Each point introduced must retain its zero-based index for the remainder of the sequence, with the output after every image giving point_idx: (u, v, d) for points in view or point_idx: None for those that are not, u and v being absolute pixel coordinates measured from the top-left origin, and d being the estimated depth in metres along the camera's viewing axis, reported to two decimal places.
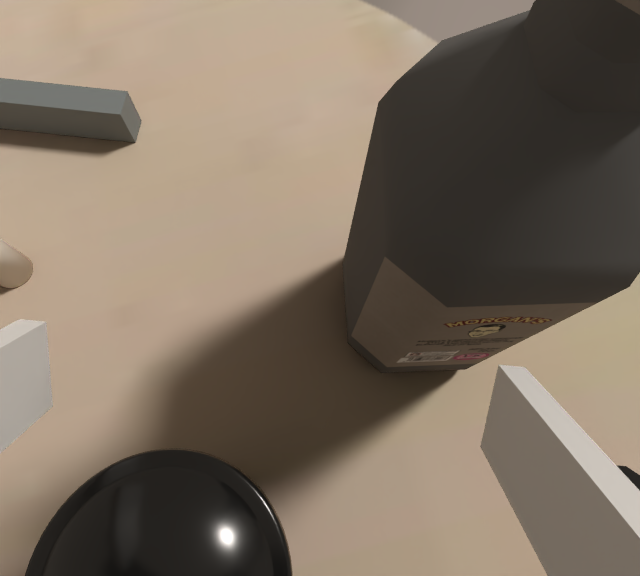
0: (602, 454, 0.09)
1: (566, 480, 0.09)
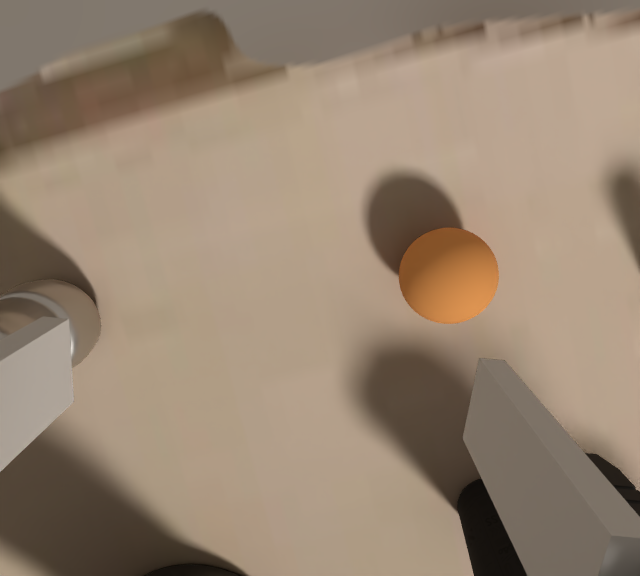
0: (571, 441, 0.10)
1: (536, 466, 0.09)
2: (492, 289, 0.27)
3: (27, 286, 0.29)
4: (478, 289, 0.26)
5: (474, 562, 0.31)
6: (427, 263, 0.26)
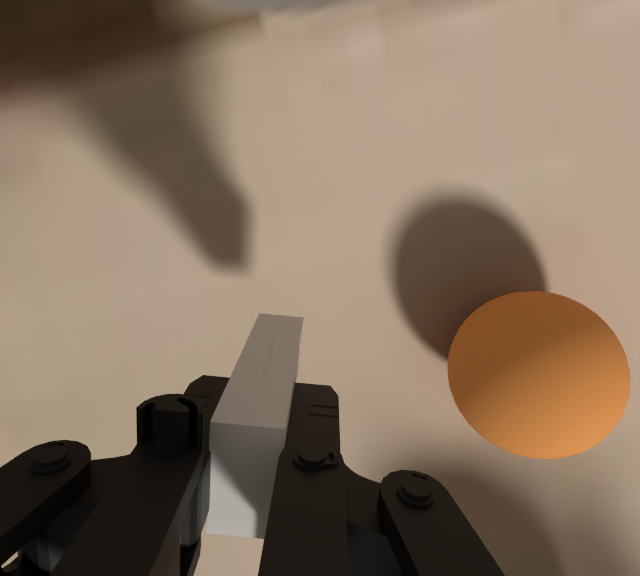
0: (295, 371, 0.12)
1: None
2: (623, 409, 0.15)
3: None
4: (605, 414, 0.14)
5: None
6: (510, 364, 0.15)
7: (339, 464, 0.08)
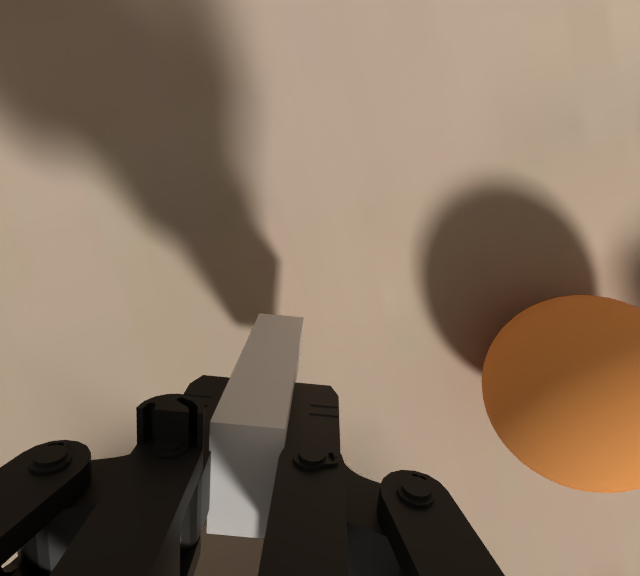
0: (295, 371, 0.12)
1: None
2: (484, 374, 0.15)
3: None
4: None
5: None
6: None
7: (339, 464, 0.08)
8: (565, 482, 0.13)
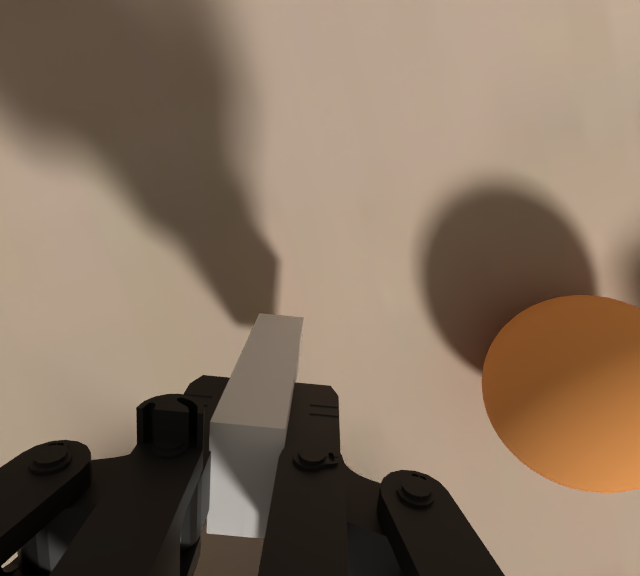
0: (295, 371, 0.12)
1: None
2: (484, 374, 0.15)
3: None
4: None
5: None
6: None
7: (339, 464, 0.08)
8: (565, 482, 0.13)
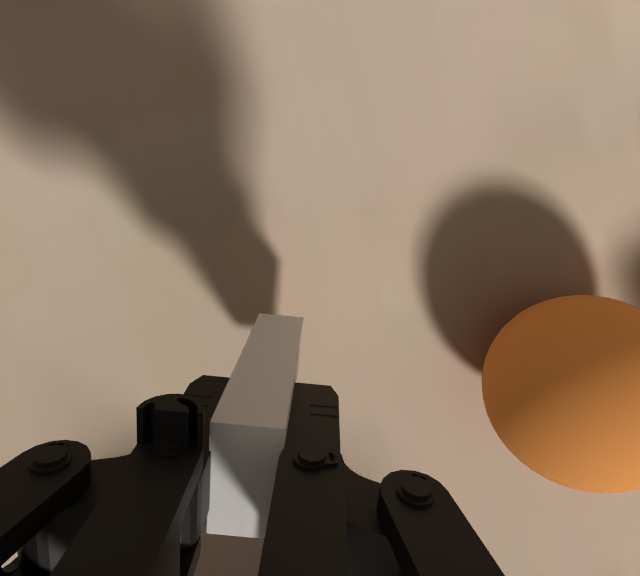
0: (295, 371, 0.12)
1: None
2: (484, 374, 0.15)
3: None
4: None
5: None
6: None
7: (339, 464, 0.08)
8: (565, 482, 0.13)
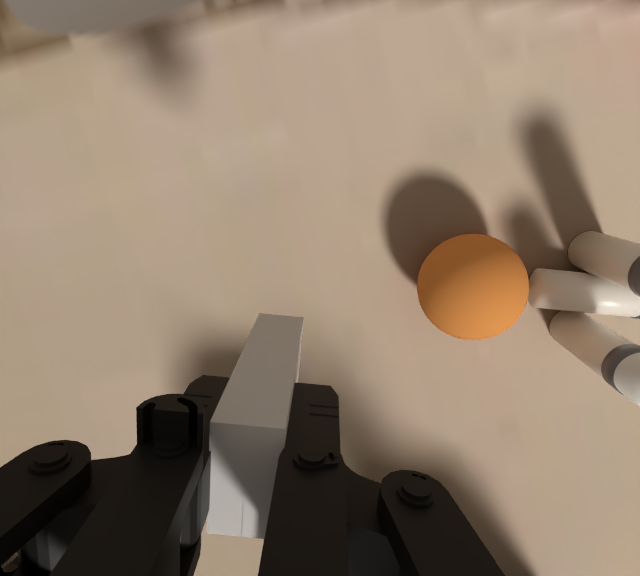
0: (295, 371, 0.12)
1: None
2: None
3: None
4: None
5: None
6: None
7: (339, 464, 0.08)
8: (456, 331, 0.25)
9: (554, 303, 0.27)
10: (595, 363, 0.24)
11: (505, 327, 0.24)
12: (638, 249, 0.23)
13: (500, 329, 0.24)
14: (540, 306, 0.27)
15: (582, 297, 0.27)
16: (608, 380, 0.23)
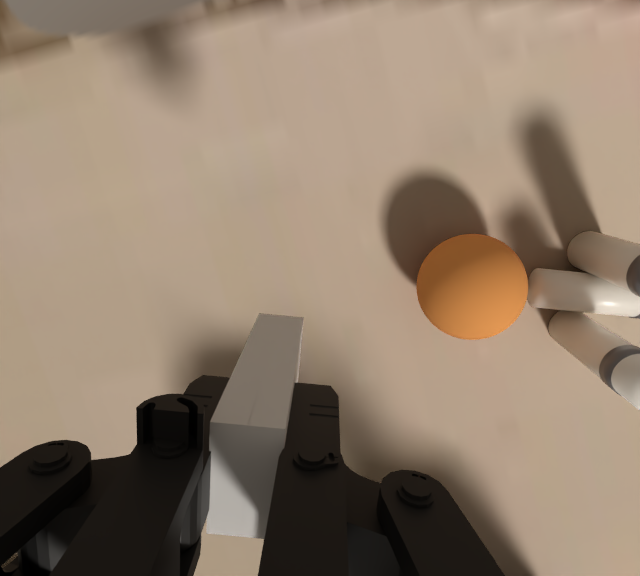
0: (294, 371, 0.12)
1: None
2: (417, 280, 0.26)
3: None
4: None
5: None
6: None
7: (339, 464, 0.08)
8: (455, 330, 0.25)
9: (553, 303, 0.27)
10: (593, 364, 0.25)
11: (504, 327, 0.24)
12: (636, 249, 0.23)
13: (499, 328, 0.24)
14: (539, 306, 0.27)
15: (581, 297, 0.27)
16: (606, 381, 0.24)
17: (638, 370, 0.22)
